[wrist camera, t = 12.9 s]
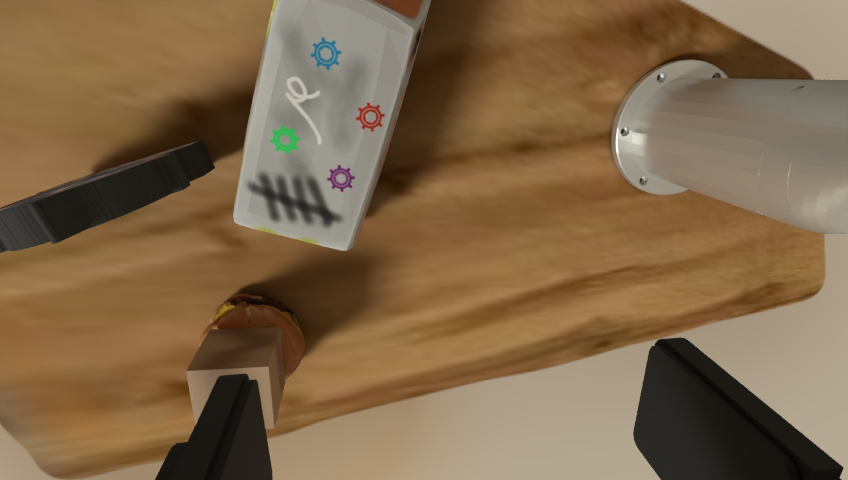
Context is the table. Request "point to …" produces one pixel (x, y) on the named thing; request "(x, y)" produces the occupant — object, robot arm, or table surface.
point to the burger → (262, 324)
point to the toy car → (325, 115)
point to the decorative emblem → (100, 197)
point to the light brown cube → (240, 366)
